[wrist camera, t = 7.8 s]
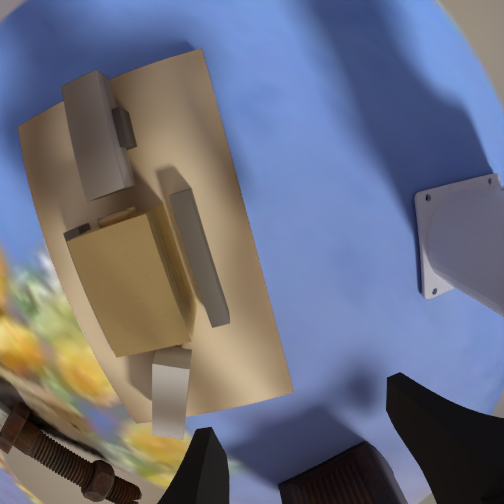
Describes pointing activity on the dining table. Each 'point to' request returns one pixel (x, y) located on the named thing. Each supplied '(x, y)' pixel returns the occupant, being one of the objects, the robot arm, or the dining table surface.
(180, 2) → the dining table surface
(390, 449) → the dining table surface
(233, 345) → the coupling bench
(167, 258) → the block
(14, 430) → the bolt
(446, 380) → the dining table surface
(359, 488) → the brown manual coffee grinder
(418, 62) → the dining table surface
